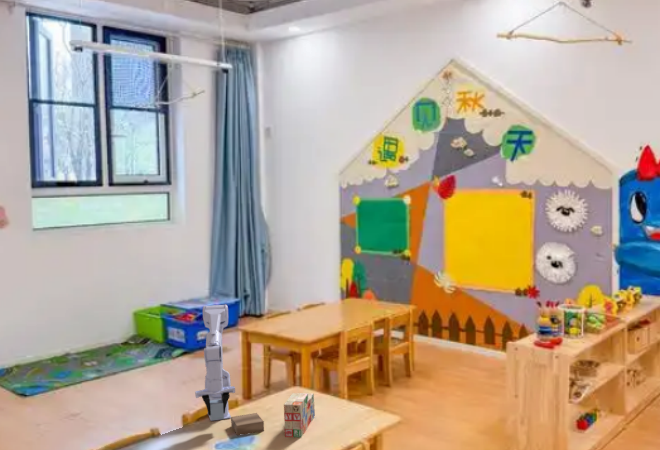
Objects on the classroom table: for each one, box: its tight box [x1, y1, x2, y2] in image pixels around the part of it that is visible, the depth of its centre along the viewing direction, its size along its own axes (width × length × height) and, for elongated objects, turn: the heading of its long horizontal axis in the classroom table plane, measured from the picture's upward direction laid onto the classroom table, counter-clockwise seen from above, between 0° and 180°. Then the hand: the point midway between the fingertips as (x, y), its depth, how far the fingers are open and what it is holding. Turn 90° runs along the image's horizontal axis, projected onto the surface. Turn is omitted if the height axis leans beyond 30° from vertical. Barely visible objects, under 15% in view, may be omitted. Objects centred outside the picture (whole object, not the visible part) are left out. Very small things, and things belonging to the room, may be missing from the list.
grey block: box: [209, 399, 225, 421], centre depth 251 cm, size 5×5×6 cm
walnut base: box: [230, 412, 265, 436], centre depth 253 cm, size 10×10×4 cm
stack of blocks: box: [283, 392, 316, 438], centre depth 253 cm, size 21×6×12 cm, turn 168°
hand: (216, 413), depth 251 cm, fingers closed on grey block, 5 cm apart
